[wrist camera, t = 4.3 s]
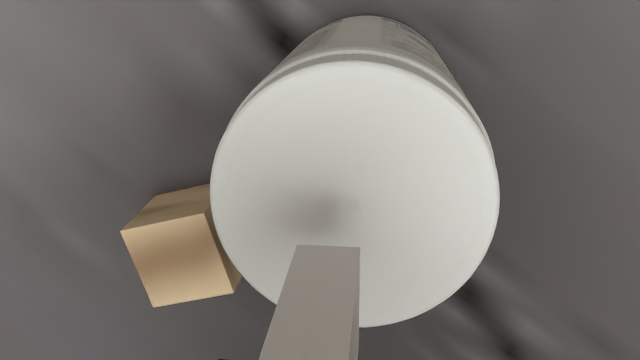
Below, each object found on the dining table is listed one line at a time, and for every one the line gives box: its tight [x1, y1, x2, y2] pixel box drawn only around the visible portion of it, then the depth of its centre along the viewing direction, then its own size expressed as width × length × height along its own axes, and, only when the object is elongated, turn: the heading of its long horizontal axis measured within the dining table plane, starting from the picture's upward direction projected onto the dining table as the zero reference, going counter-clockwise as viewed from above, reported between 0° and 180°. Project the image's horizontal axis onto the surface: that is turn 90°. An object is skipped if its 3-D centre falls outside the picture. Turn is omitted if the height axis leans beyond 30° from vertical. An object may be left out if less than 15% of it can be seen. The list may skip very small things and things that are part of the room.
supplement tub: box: [210, 15, 500, 327], centre depth 24 cm, size 10×10×15 cm
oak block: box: [120, 183, 242, 307], centre depth 33 cm, size 5×5×5 cm
